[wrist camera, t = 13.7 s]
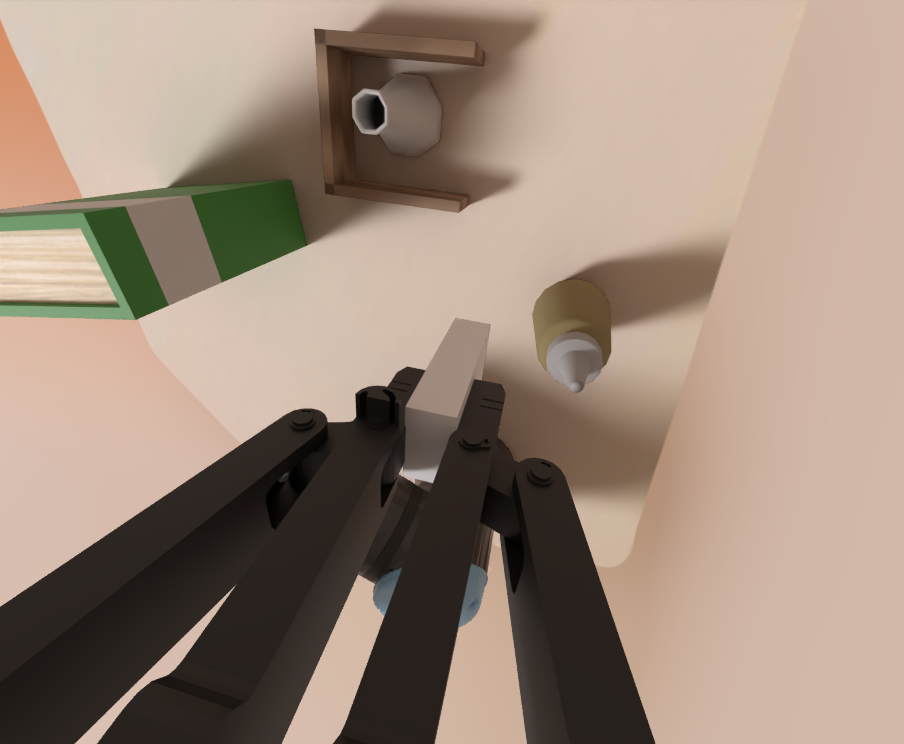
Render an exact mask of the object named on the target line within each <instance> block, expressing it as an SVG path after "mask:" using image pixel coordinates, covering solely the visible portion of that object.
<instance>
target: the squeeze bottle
mask: <svg viewBox="0 0 904 744" xmlns="http://www.w3.org/2000/svg"><path fill="white" fill-rule="evenodd" d="M532 315H533V323H534V331H535V339H536V347H537V354H538V360H539V361H540V363H541V364H542V366H543V367H544V369H545V370H546V371H548V372H549V374H550V375H551V377H552V378H553V379H554V380H556V381H557V382H559V383H560V384H563V385H567V387H568V389H569V390H570V391H571V392H574V393H578V392H580V391H582V390H583V388H584V385H585V384H587V383H589V382H591V381H593V380H594V379H595V378H596V377H597V376H598V375H599V374H600V371H601V369H602V368H603V367H604V366H605V365H606V363H607V361H608V359H609V356H610V354H611V315H610V303H609V301H608V300H607V298H606V296H605V294H604V293H603V291H602V290H600V289H599V288H598V287H596V286H595V285H593V284H592V283H590V282H586V281H581V280H577V279H572V280H566V281H560V282H557V283H556V284H554V285H552V286H551V287H549V288H547V289H545V291H544V292H543V293H542V294H541V296H540V297H539V298H538V299H537V301H536V303H535V307H534V311H533V314H532Z"/></svg>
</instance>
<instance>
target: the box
mask: <svg viewBox="0 0 904 744" xmlns="http://www.w3.org/2000/svg"><path fill="white" fill-rule="evenodd" d="M314 31H315V46H316V61H317V76H318V91H319V106H320V121H321V136H322V150H323V165H324V180H325V194H330V195H337V196H344V197H351V198H358V199H365V200H372V201H380V202H387V203H394V204H401V205H408V206H415V207H422V208H429V209H436V210H443V211H450V212H457V213H459V212H460V211H462V210H463V209H464V208H466V207H467V206H468V204H469V195H463V194H456V193H449V192H441V191H434V190H427V189H419V188H412V187H404V186H397V185H390V184H382V183H375V182H367V181H360V180H355V160H354V127H353V117H352V98H353V95H352V62H351V55H361V56H372V57H383V58H395V59H406V60H417V61H429V62H440V63H452V64H463V65H474V66H483V65H484V56H485V52H484V51H483V50H482V49H481V47H480V46H479V45H478V44H477V43H476V42H475V41H463V40H450V39H438V38H425V37H412V36H400V35H387V34H374V33H362V32H349V31H337V30H324V29H314Z"/></svg>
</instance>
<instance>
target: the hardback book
mask: <svg viewBox="0 0 904 744" xmlns="http://www.w3.org/2000/svg"><path fill="white" fill-rule="evenodd" d="M305 246H307V243H306V239H305V234H304V230H303V226H302V222H301V218H300V214H299V210H298V206H297V201H296V197H295V193H294V189H293V185H292V181H291V180H277V181H261V182H246V183H231V184H215V185H200V186H185V187H169V188H161V189H153V190H145V191H138V192H130V193H122V194H115V195H107V196H99V197H92V198H84V199H76V200H69V201H61V202H54V203H46V204H38V205H30V206H23V207H16V208H7V209H0V316H15V317H16V316H17V317H51V318H87V319H124V320H126V319H127V320H136V319H139V318H141V317H143V316H146V315H148V314H150V313H153V312H155V311H157V310H160V309H162V308H164V307H166V306H169V305H171V304H173V303H176V302H178V301H180V300H183V299H185V298H187V297H189V296H192V295H194V294H196V293H199V292H201V291H203V290H206V289H208V288H210V287H212V286H215V285H217V284H219V283H222V282H224V281H226V280H229V279H231V278H233V277H236V276H238V275H240V274H242V273H245V272H247V271H249V270H252V269H254V268H256V267H259V266H261V265H263V264H265V263H268V262H270V261H272V260H275V259H277V258H279V257H282V256H284V255H286V254H289V253H291V252H293V251H295V250H298V249H300V248H302V247H305Z"/></svg>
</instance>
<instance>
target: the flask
mask: <svg viewBox="0 0 904 744" xmlns="http://www.w3.org/2000/svg"><path fill="white" fill-rule="evenodd" d="M352 117H353V119H354V121H355V123H356V124H357V126H358V128H359V130H360V131H361V133H365V134H373V135H378V134H379V135H380V136H381V138H382V139H383V141H384V142H385V144H386V146H387V148H388V149H389V151H390V153H391V154H397V155H404V156H412V157H418V156H420V155H421V154H422V153H424V152H425V151H427V150H428V149H429V148H431V147H432V146H434V145H435V144H436V143H438V142H439V141H440V133H441V120H442V105H441V103H440V101H439V99H438V97H437V95H436V93H435V91H434V89H433V87H432V85H431V83H430V81H429V79H428V77H427V76H418V75H409V74H399V73H398V74H397V75H396V76H395V77H394V78H392V79H391V80H390V81H389V82H388V83H387V84H385V85H384V86H383V87H382V88H381V89H379V90H375V89H366V88H364V89H362V90H361V91H360V92H359V93H358V94H357V95H356V96H354V97H353V98H352Z"/></svg>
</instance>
